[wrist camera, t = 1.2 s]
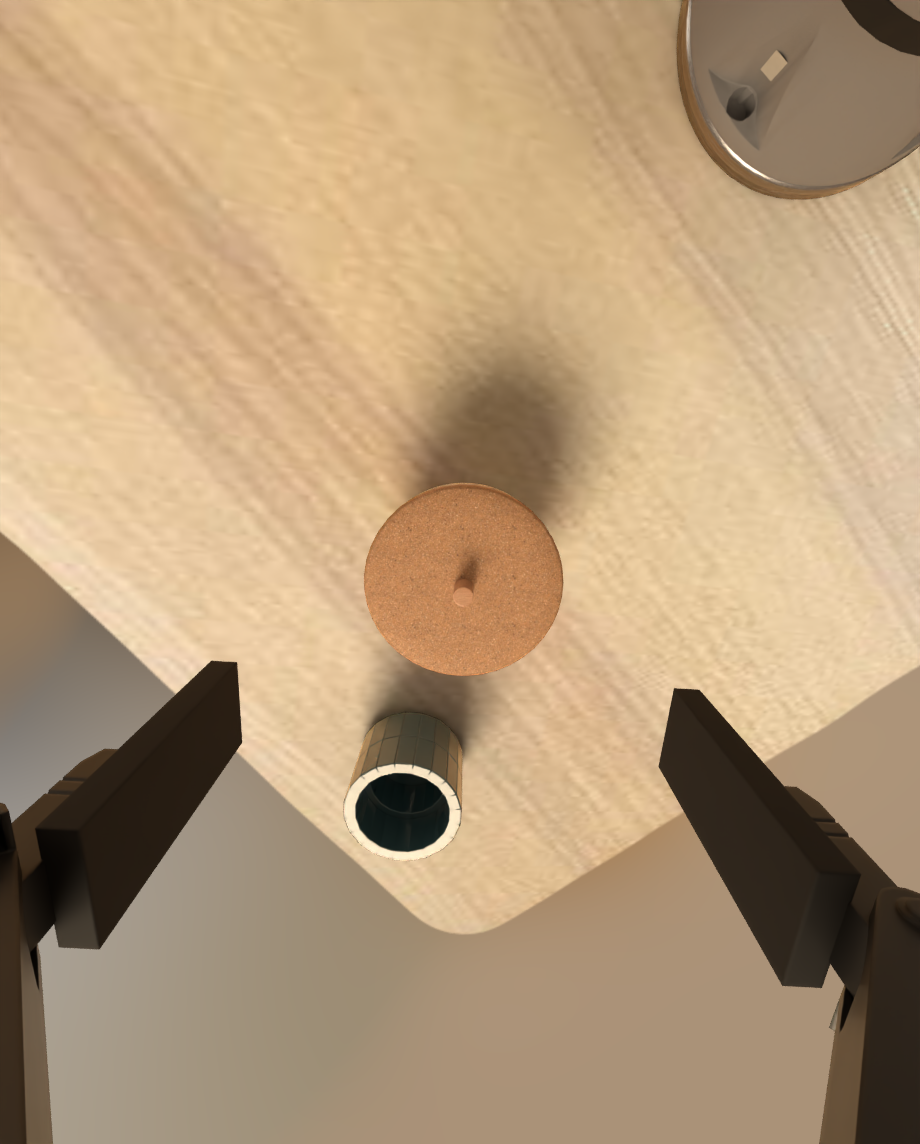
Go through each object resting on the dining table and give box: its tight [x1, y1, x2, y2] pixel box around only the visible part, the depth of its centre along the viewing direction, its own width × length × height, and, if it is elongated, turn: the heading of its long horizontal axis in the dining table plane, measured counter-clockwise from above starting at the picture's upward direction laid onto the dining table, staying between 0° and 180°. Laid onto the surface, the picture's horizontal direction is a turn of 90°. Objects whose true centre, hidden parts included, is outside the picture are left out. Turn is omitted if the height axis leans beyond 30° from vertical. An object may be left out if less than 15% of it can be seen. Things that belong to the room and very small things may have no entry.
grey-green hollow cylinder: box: [344, 712, 462, 861], centre depth 37 cm, size 8×8×6 cm
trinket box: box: [364, 483, 563, 676], centre depth 31 cm, size 11×11×9 cm
